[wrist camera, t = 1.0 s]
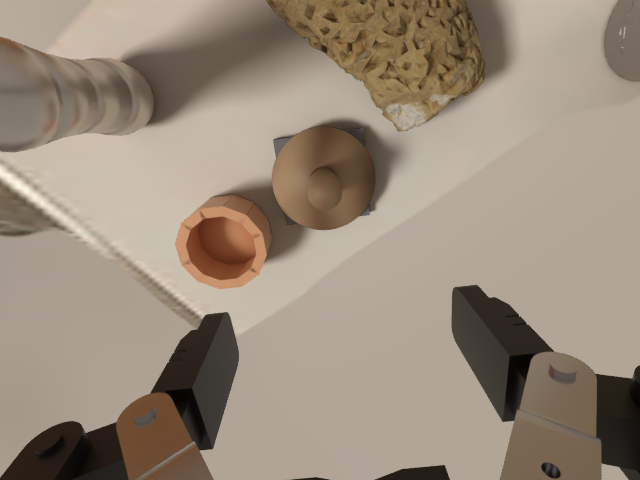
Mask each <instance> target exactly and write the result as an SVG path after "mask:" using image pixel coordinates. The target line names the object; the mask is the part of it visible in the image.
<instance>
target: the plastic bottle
mask: <svg viewBox="0 0 640 480" xmlns="http://www.w3.org/2000/svg"><path fill="white" fill-rule="evenodd" d="M153 110H154V96H153V93H152V90H151V88H150V86H149V84H148V82H147V81H146V79H145V78H144V77H143V76H142V75H141V74H140V73H139V72H138V71H137V70H135V69H134V68H132V67H131V66H129V65H127V64H125V63H123V62H121V61H119V60H115V59H111V58H91V59H86V60H77V59H66V58H62V57H58V56H54V55H50V54H46V53H43V52H41V51H38V50H35V49H33V48H30V47H28V46H25V45H22V44H20V43H17V42H15V41H12V40H9V39H6V38H3V37H0V151H1V152H19V151H25V150H29V149H33V148H36V147H39V146H41V145H44V144H47V143H50V142H52V141H55V140H58V139H60V138H63V137H68V136H73V135H77V134H82V133H100V134H104V135H116V136H123V135H128V134H131V133H134V132H136V131H137V130H139V129H141V128H142V127H144V126H145V125H146V124H147V123H148V122H149V120H150V118H151V117H152V114H153Z"/></svg>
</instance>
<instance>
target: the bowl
mask: <svg viewBox="0 0 640 480" xmlns="http://www.w3.org/2000/svg"><path fill="white" fill-rule="evenodd" d="M271 240H272V236H271V231H270V226H269V220H268V218H267V217H266V216H265V215H264V214H263V212H262V211H261V210H260V209H259V208H258V207H257V205H256V204H255V203H254V202H251V201H249V200H246V199H244V198H241V197H238V196H236V195H225V196H217V197H211V198H210V199H209V200H208V201H206V202H205V203H204V204H203V205H202V206H200V207H199V208H198V209H197V210H195V211H194V212H193V213H192V214H191V215H190V216H189V217H188V218H187V219H185V220H184V221H183V222H182V223H181V226H180V229H179V232H178V236H177V239H176V243H175V245H176V249H177V252H178V255H179V258H180V262H181V265H182V266H183V267H184V268H185V269H186V270H187V271H188V272H189V273H190V274H191V275H192V276H193V277H194V278H195V279H196V280H197V281H198V282H201V283H204V284H207V285H210V286H213V287H216V288H218V289H224V288H233V287H242V286H243V285H245V284H246V283H248V282H249V281H250V280H252V279H253V278H255V277H256V276H257V275H259V273H260V271H261V268H262V266H263V263H264V261H265V258H266V256H267V253H268V250H269V246H270V243H271Z"/></svg>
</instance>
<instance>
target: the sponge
mask: <svg viewBox="0 0 640 480" xmlns="http://www.w3.org/2000/svg"><path fill="white" fill-rule="evenodd" d="M266 1H267V2H268V4H269V5H270V6H271V8H272V9H273V10H274V12H275V13H276V14H277V15H279V16H280V17H281V18H284V19H286V23H287V25H288V26H289V27H291V28H292V29H294V30H295V31H296V32H297V33H298V34H299V35H300V36H301V37H303V38H305V37H309V44H310V45H311V46H312V47H313V48H316V49H318V50H320V51H322V52H324V53H326V54H327V55H328V56H329V57H330V58H331V59H332V60H334V61H335V62H336V63H337V64H338V66H339V67H340V68H343V69H344V70H345V72H346V73H349V74H352V75H353V76H354V78H355V79H357V80H360V81H361V80H362V81H363V82H364V86H365V87H366V88H367V89H368V90H369V92H370V95H371V98H372V100H373V102H374V103H375V105H376V106H377V107H379V108H381V109H382V110H383V115H384V116H385V117H386V118H387V119H389V120H390V121H392V122H393V124H394V125H395V127H396V129H397V130H398V131H407V130H409V129H411V128H413V127H418V126H420V125H422V124H424V123H426V122H427V121H429V120H430V119H432V118H433V117H435V116H436V115H437V114H438V113H439V111H441V110H442V109H444V108H445V107H446V106H447V104H448V103H449V101H450V100H454V99H455V98H457V97H459V96H460V95H461V94H463V95H465V96H466V95H468V94H469V93H471V92H472V91H474V90H476V89H477V88H478V87H479V86H480V85H481V84H482V82H483V80H484V78H485V74H483V73H484V69H485V62H484V60H483V58H482V48H481V45H480V42H479V38H478V33H477V29H476V27H475V24H474V21H473V18H472V15H471V13H470V11H469V9H468V7H467V4H466V1H465V0H266Z"/></svg>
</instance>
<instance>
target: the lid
mask: <svg viewBox="0 0 640 480" xmlns="http://www.w3.org/2000/svg"><path fill="white" fill-rule="evenodd" d="M272 186H273V191H274V195H275V197H276V200H277V202H278V204H279V206H280V207H281V209H282V210H283V211H284V212H285V213H286V215H287V216H288V217H290V218H291V219H292V220H293V221H295V222H297V223H298V224H300V225H302V226H305V227H308V228H311V229H316V230H330V229H336V228H339V227H342V226H344V225H346V224H348V223H350V222H352V221H353V220H355V219H356V218H357V217H358V216H359V215H360V214H361V213H362V212H363V211H364V210H365V208H366V207H367V205H368V204H369V202H370V200H371V197H372V195H373V191H374V187H375V169H374V165H373V162H372V159H371V157H370V155H369V153H368V151H367V150H366V148H365V147H364V146H363V145H362V143H361V142H359V141H358V140H357V139H356V138H355V137H354V136H352V135H351V134H349V133H347V132H345V131H343V130H341V129H338V128H333V127H325V126H323V127H314V128H310V129H307V130H304V131H302V132H300V133H298V134H297V135H295V136H294V137H292V138H291V139H290V140H289V141H288V142H287V143H286V144H285V145H284V147H283V148H282V149H281V151H280V152H279V154H278V156H277V158H276V160H275V163H274V167H273V172H272Z"/></svg>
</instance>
